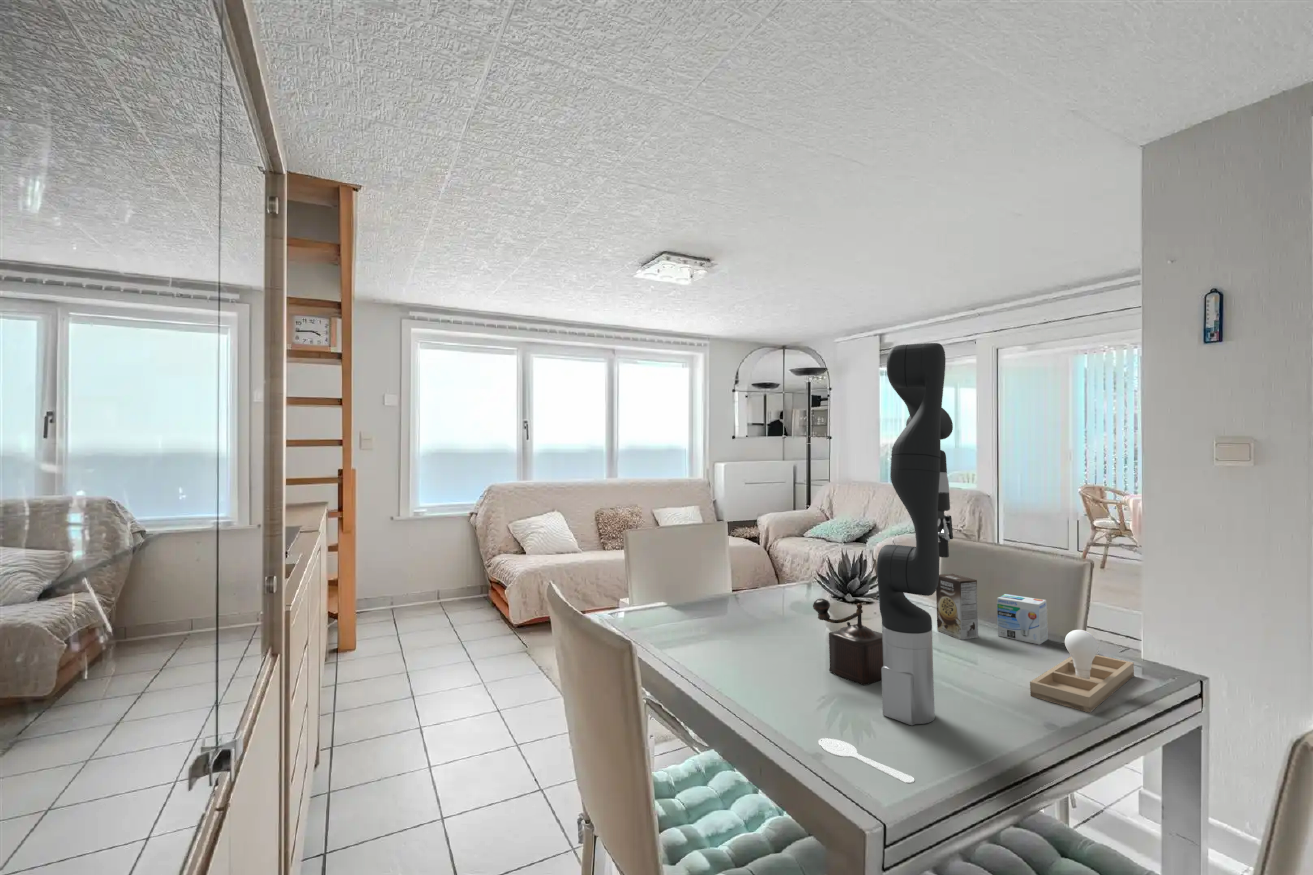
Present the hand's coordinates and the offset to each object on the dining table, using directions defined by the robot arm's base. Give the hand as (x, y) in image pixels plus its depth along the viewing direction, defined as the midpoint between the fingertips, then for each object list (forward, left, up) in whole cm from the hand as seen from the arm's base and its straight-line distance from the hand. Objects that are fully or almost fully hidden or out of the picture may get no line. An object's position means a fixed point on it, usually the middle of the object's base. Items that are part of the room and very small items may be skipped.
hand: (935, 557), depth 145 cm
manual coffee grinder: (-22, +9, -26) cm, 36 cm away
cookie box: (+27, +8, -26) cm, 38 cm away
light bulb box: (+37, -5, -26) cm, 45 cm away
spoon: (-53, -14, -26) cm, 61 cm away
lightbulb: (+11, -27, -25) cm, 38 cm away
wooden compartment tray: (+11, -27, -26) cm, 39 cm away
